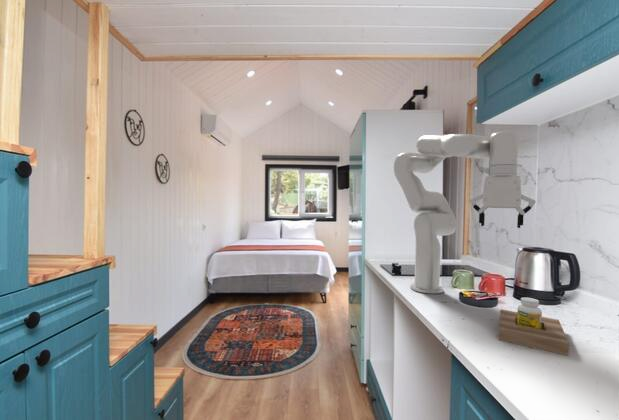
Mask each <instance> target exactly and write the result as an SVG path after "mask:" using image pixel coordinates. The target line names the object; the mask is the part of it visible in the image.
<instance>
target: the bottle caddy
mask: <svg viewBox="0 0 619 420" xmlns="http://www.w3.org/2000/svg"><path fill="white" fill-rule="evenodd" d="M517 312H518V311H512V310H507V309H500V313H499V321H498V322H499V323H498V340H499V341H502V342H506V341H507V342H508V343H511V342H512V344H515V343H516V345H520V346H524V345H525V346H524V347H528V348H533V347H534V349H537V348H538V350H543V351H547V352H552V353H556V354H560V355H565V356H569V353H570V352H569V351H570V350H569V348H570V342H569V340H568V337H567V336H566V335H567V334H566V332H565V331H564V328H563V327H562V324H561V322H560V320H559V319H556V318H551V317H545V316H542V321H541V330H540V329H535V328H530V327H525V326H520V325H517Z"/></svg>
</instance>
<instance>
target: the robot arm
mask: <svg viewBox="0 0 619 420" xmlns="http://www.w3.org/2000/svg"><path fill="white" fill-rule="evenodd" d="M416 149H417V151H418V152H402V153H400V154H398V155H397V156H396V158H395V160H394V161H393V162H394V163H393V172H394V176H395V179H396V181H397V182H398V184H399V185H400V188H401V189H402V191H403V195H404V197H405V198H406V201H407V205H408V206H409V208H410V210H412V212H414V213H416V214H417V215H416V216H415V217H414V220H413V229H414V230H413V231H414V234H415V258H414V259H415V260H414V282H413V283H411V284H410V286H409V288H410V289H411V290H413V291H415V292H418V293H424V294H432V295H434V294H435V295H436V294H437V295H438V294H442V293H443V292H444V288H443V287H442V286H441V285H440V278H441V277H440V276H441V275H440V273H441V249H442V248H441V242H440V241H439V239H438V237H440V236H450V235H451V236H452V235H453V234H454V233H455V232H456V230H457V219H456V216H455V213H454V212H453V210H452V208H451V206H450V205H449V202H448V200H447V199H446V197H445V196H444V195H443V194H442V193H440V192H438V191H430V190H426V188H425V187H424V185H423V184H424V183H423V182H422V180H421V179H420V178H419V177H418V176H417V175H416V174H415V173H419V174H428V173H430V172H432V171H433V170H434V169H436V167H437V166H439V165H440V164H441V163H442V162H443V161H444V160H445V159H446V158H451V157H456V158H457V157H460V158H467V159H476V160H488V167H487V168H484V169H483V173H484V174H487V175H488V176H487V175H486V176H485V179H484V184H483V190H482V194H480V195H478V196H475V197H474V198H471V199H470V200H469V202H470V204H471V206H472V208H473V209H474V210H475V211H476V212H478V215H479V216H478V224H481V225H480V226H481V227H484V226H485V220H486V219H485V217H486V215H485V211H486V210H487V209H488V208H490V209H494V208H495V209H515V210H516V211H517V212H518V214H517V223H516V224H517V225H516V226H517V228H518V229H520V228H521V226H524V216H525V214H526V213H528V212H530V211H531V210H532V209H533V206H534V205H535V204H536V200H535V199H532V198H530V197H528V196H525V195H524V194H522V182H521V181H522V180H521V177H520V175H518V159H519V158H518V157H519V155H518V153H519V133H518V132H516V131H514V130H513V131H512V130H503V131H497V132H494V133H492V134H491V136H486V135H480V134H473V133H472V134H471V133H451V134H450V133H449V134H425V135H422V136H420V137H419V138H418V139H417V141H416ZM480 200H482V201H481V202H482V206H481V207H480V206H479V205H478V204H477V202H478V201H480ZM522 201H525V202H527V203H528V205H527V206H526V207H524V208H523V209H522V208H521V205H522Z"/></svg>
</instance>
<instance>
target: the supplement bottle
mask: <svg viewBox="0 0 619 420" xmlns="http://www.w3.org/2000/svg"><path fill="white" fill-rule="evenodd" d="M539 306H540V300H538V299H536V298H533V297H520V305H517V311H516V312H517V325H520V326H525V327H530V328H535V329H540V330H541V321H542V317H543V315H542V313H543V312H542V311H543V310H542V309H541V308H540V307H539Z"/></svg>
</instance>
